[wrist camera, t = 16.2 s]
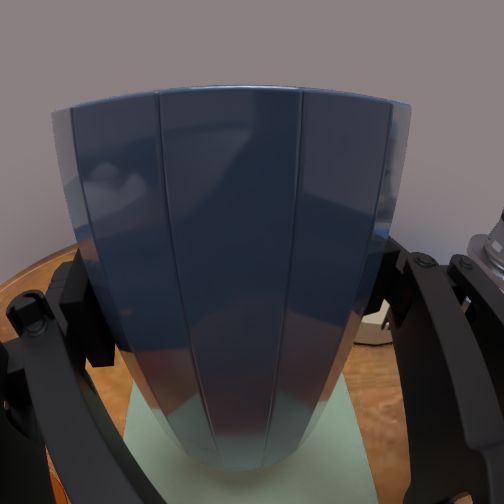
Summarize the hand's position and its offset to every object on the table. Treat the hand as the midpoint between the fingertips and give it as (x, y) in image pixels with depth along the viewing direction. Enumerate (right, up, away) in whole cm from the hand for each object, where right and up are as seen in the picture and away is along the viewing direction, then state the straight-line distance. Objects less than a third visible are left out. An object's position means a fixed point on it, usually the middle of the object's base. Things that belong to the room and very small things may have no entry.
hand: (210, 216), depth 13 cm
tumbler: (+1, -9, +1) cm, 9 cm away
